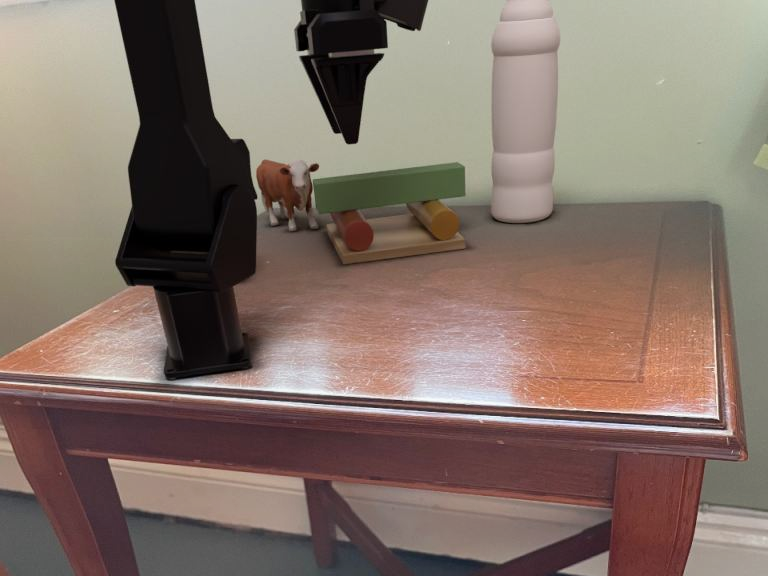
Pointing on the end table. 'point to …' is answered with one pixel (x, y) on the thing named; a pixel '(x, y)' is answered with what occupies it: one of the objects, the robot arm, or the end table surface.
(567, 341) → the end table surface
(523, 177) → the water bottle
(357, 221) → the rod stand
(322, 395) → the end table surface
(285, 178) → the bull figurine
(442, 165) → the green bar
